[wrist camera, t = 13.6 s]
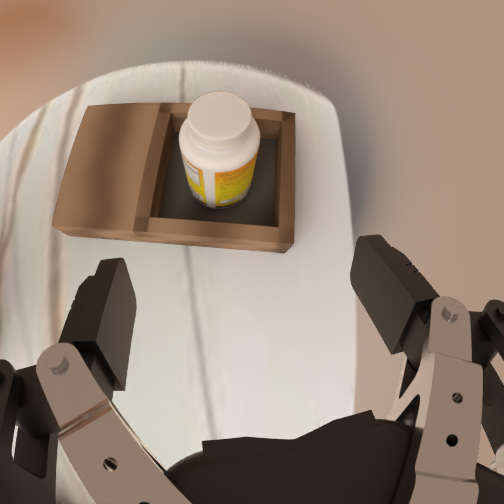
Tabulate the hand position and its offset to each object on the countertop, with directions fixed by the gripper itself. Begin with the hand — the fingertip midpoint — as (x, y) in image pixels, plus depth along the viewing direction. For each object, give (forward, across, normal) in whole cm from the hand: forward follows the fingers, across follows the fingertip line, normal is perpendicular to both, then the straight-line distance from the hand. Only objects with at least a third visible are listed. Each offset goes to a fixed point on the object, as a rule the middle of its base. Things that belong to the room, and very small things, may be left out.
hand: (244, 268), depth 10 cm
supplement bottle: (+18, 0, +4) cm, 19 cm away
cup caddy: (+19, +4, +3) cm, 20 cm away
